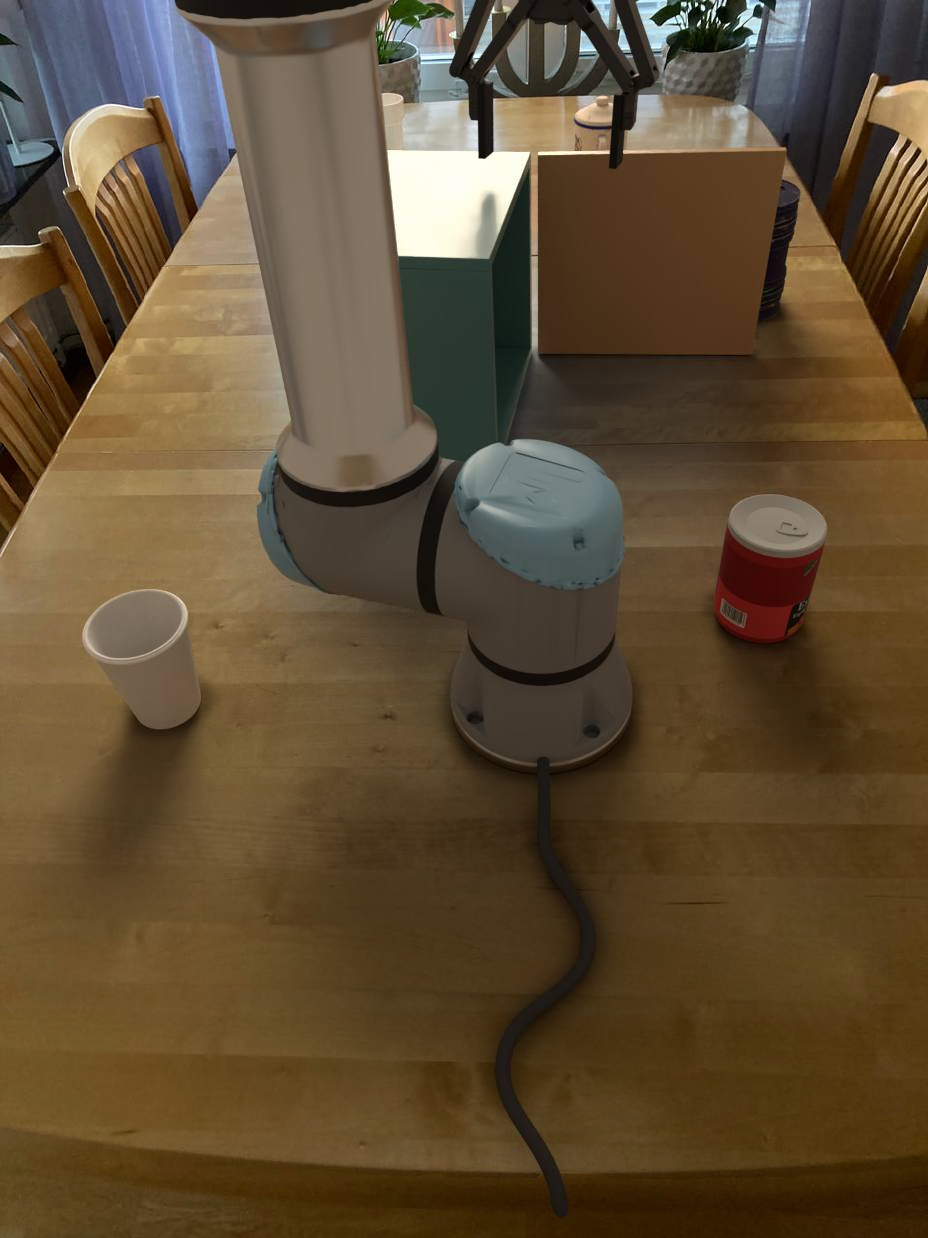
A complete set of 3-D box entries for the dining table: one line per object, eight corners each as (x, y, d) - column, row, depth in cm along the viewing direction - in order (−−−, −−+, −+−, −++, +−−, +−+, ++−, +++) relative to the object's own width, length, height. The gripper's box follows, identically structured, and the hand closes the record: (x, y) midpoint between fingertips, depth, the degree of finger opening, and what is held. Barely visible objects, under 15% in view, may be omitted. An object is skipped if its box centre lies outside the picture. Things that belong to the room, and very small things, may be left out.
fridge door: (540, 327, 127) (540, 132, 110) (746, 327, 124) (779, 127, 107) (537, 353, 122) (537, 154, 105) (751, 354, 119) (786, 150, 102)
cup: (366, 172, 169) (358, 105, 162) (379, 159, 174) (372, 92, 166) (401, 175, 168) (395, 106, 160) (414, 161, 172) (408, 93, 164)
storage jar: (723, 329, 125) (740, 212, 114) (691, 295, 131) (704, 182, 121) (794, 315, 126) (817, 199, 115) (758, 282, 133) (777, 170, 122)
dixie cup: (114, 685, 86) (76, 604, 79) (207, 657, 88) (178, 576, 81) (125, 754, 81) (85, 674, 74) (224, 723, 82) (195, 642, 75)
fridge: (532, 352, 123) (531, 151, 106) (497, 476, 105) (489, 258, 88) (395, 345, 126) (372, 149, 109) (338, 465, 108) (300, 252, 91)
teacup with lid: (572, 162, 168) (573, 89, 159) (625, 160, 167) (629, 86, 159) (573, 189, 159) (575, 113, 151) (629, 188, 158) (634, 111, 150)
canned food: (804, 650, 85) (831, 556, 77) (710, 640, 86) (727, 547, 78) (800, 591, 90) (825, 497, 82) (712, 582, 91) (729, 489, 84)
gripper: (709, -106, 83) (679, 158, 97) (439, -105, 90) (447, 141, 104) (693, -98, 78) (665, 180, 92) (408, -98, 85) (421, 161, 99)
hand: (549, 160), depth 98 cm, fingers open, 13 cm apart
